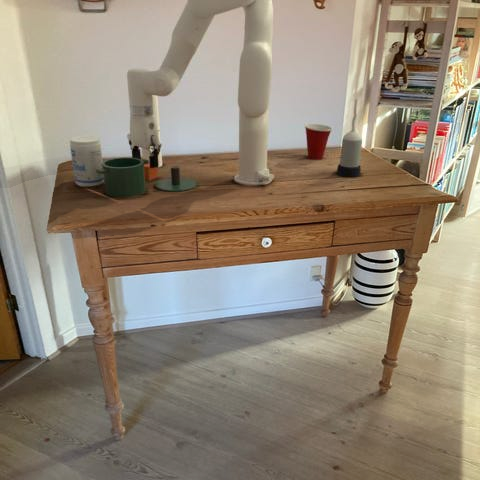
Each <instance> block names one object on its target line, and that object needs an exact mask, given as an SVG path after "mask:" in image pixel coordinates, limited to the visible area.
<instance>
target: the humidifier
mask: <svg viewBox="0 0 480 480" xmlns="http://www.w3.org/2000/svg"><path fill="white" fill-rule="evenodd" d="M360 101H361V102H360V104H363V103H362V102H363V100H360ZM357 108H358V98H354V104H353V117H352V121H351V130H350V131H348V132H346V133H345V134H344V135H343V137H342V140H341V150H340V158H339V159H340V160H339V164H338V165H337V169H336V175H338V176H340V177H343V178H356V177H360V176H361V169H362V167H361V165H360V163H361V162H360V161H361V155H362V147H363V137H362V135H361V134H360V133H359V132H358V131H357V130H359V128H360V125H358V127H357V130H356V119H357V117H358V115H357ZM361 109H362V108H360V110H359V112H361V111H362V110H361ZM360 121H361V116H359V121H358V123H360Z"/></svg>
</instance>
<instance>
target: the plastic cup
mask: <svg viewBox="0 0 480 480" xmlns="http://www.w3.org/2000/svg"><path fill="white" fill-rule="evenodd" d="M304 128H305V135H306V149H307V157H308V159H309V160H310V159H311V160H322V159H323V158H324V156H325V151H326V148H327V144H328V140H329V137H330V134H331V132H332V131H333V130H334V128H333V127H332V126H329V125H325V124H320V123H319V124H318V123H306V124H305V125H304Z"/></svg>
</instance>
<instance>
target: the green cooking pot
mask: <svg viewBox="0 0 480 480" xmlns="http://www.w3.org/2000/svg"><path fill="white" fill-rule="evenodd" d="M102 162H103V163H102V168H101V169H97V170H96V173H98V174H103V178H104V183H103V185H104V192H105V194H106V196H107V197H110V198H112V199H114V197H115V198H129V197H137V196H140V195H142V194H145V193H146V190H147V185H146V180H145V172H144V164H148V163H149V160H146V159H142V158H141V159H138V158H132V157H129V156H128V157H127V156H125V157H113V158H108V159H106V160H103V161H102Z"/></svg>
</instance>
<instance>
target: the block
mask: <svg viewBox="0 0 480 480" xmlns="http://www.w3.org/2000/svg"><path fill="white" fill-rule="evenodd" d="M144 172H145V181H151V180H153V179H156V178H158V177H159V172H158V167H156V168H150V163H148V164H144Z"/></svg>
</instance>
